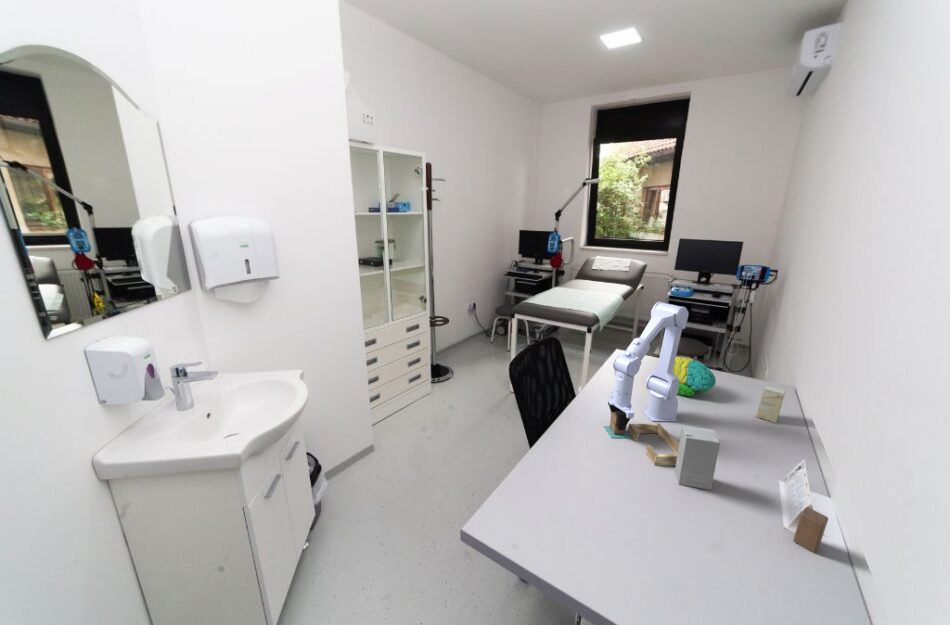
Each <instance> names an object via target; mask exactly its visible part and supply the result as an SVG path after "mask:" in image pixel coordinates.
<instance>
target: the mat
mask: <svg viewBox="0 0 950 625" xmlns="http://www.w3.org/2000/svg"><path fill="white" fill-rule="evenodd" d="M603 428H604V430H605V432H606V433H607V434H608V436H609V437H610V438H611V439H633V437H632V436H631V435H630V434H629V432H628V430H626V434H614V433H613V431H612V430H611V429H610V425H603Z"/></svg>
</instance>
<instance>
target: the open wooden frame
mask: <svg viewBox="0 0 950 625" xmlns="http://www.w3.org/2000/svg"><path fill="white" fill-rule="evenodd" d="M627 426H628V427H627V432H628V433H629V435H630V436H631V437H632V439H633V440H634V441H635V442H637V441H638V442H639V439H640V438H639V437H640V434H657V435H658V436H659V437H660V438H661V439H662V440H663V441H664V442H665V443H666V444H667V445H668V446H669V447H670V449H671V450H673V452H674V453H672V454H669V453H667V454H663V453H661V454H658V453H657V452H656V451H655V450H654V448H653V447H652V446H651V445H646V449H645V455H646V456H647V458H648V459H649V460H650V461H651V462H652V464H653V465H654V466H676V461H677V455H678V449H679V442H678V441H677V440H676V439H675V438H674V437H673V436H672V435H671V434H670V432H668V430H667V429H666V428H664V427H663V425H661V424H660V423H628V425H627Z"/></svg>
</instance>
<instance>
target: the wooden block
mask: <svg viewBox="0 0 950 625" xmlns="http://www.w3.org/2000/svg"><path fill="white" fill-rule="evenodd" d="M828 521H829V517H828V516H826V515H824V514H822V513H820V512H819V511H816V510H814V509H812V508H810V507H808V506H805V507H804V509H803V511H802V512H801V513H800V516H799V520H798V523H797V526H796V529H795V533H794V536H793V542H794V543H796V544H798V545H799V546H800V547H803V548H804V549H806V550H808V551H810V552H811V553H813V554H814V553H816V552H817V551H818V549H819V547H820V545H821V542H822V540H823V537H824V534H825V530H826V527H827V525H828V523H829V522H828Z"/></svg>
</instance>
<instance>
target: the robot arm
mask: <svg viewBox="0 0 950 625" xmlns="http://www.w3.org/2000/svg"><path fill="white" fill-rule="evenodd" d="M688 318H689V310H688V309H687V307H686V306H680V305H675V304H671V303H665V302H663V301H657V302H656V303H655V304H654V305H653V307H652V309H651V311H650V320H649V321H648V323H647V325H646V326H645V328H644V330H643V331H642V333H641V335H640V336H639V337H636V338H633V340H632V341H631V343H630V344H629V345H628V347H627V348H626V350H624V352H623V354H619V355H618V356H617V357H615V359H614V360H613V363H612V368H613V370H614V375H615V380H614V386H613V392H612V391H611V392H609V398H610V399H611V400H609V401H608V402H607V405H608V406H609V410H610V413H611V412H615V413H616V415H617V428H618V430H625V428H626V429H627V427H626V425H627V426H628V424H629V422H630V420H631V419H634V416H635V412H634V411H633V407H632V403H631V401H632V396H633V388H634V381H635V376H636V375H637V374H638V373H639V371H640V369H641V366H642V363H643V361H642V360H644V358H645V356H646V355H647V353H648V352H649V351H650V349H651V342H652V341H653V340H654V338H656V337H657V335H658V334H659V333H660V331H662V330H663V328H664V335H663V339H662V342H661V349H660V353H659V356H658V357H659V358H658V362H657V366H656V368H657V369H656V368H654V369H652V370H650V371H649V374H648V376H647V378H646V381H645V387H646V389H647V391H648V393H649V395H648V402H647V408H646V409H641V411H642V412H643V413H644V415H645V416H646V417H647V418H648V419H649V420H650V421H651V422H677V421H678V420H677V419H676V418H677V412H678V409H679V408H678V406H679V401H678V397H677V395H678V394H677V393H678V390H679V386H678V383H679V379H678V377H677V376H676V375H675V374H674V373H673V367H674V363H675V358H676V357H677V354H678V348H679V343H680V339H681V336H682V331H683V330H684V329H686V326H687V323H688Z"/></svg>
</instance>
